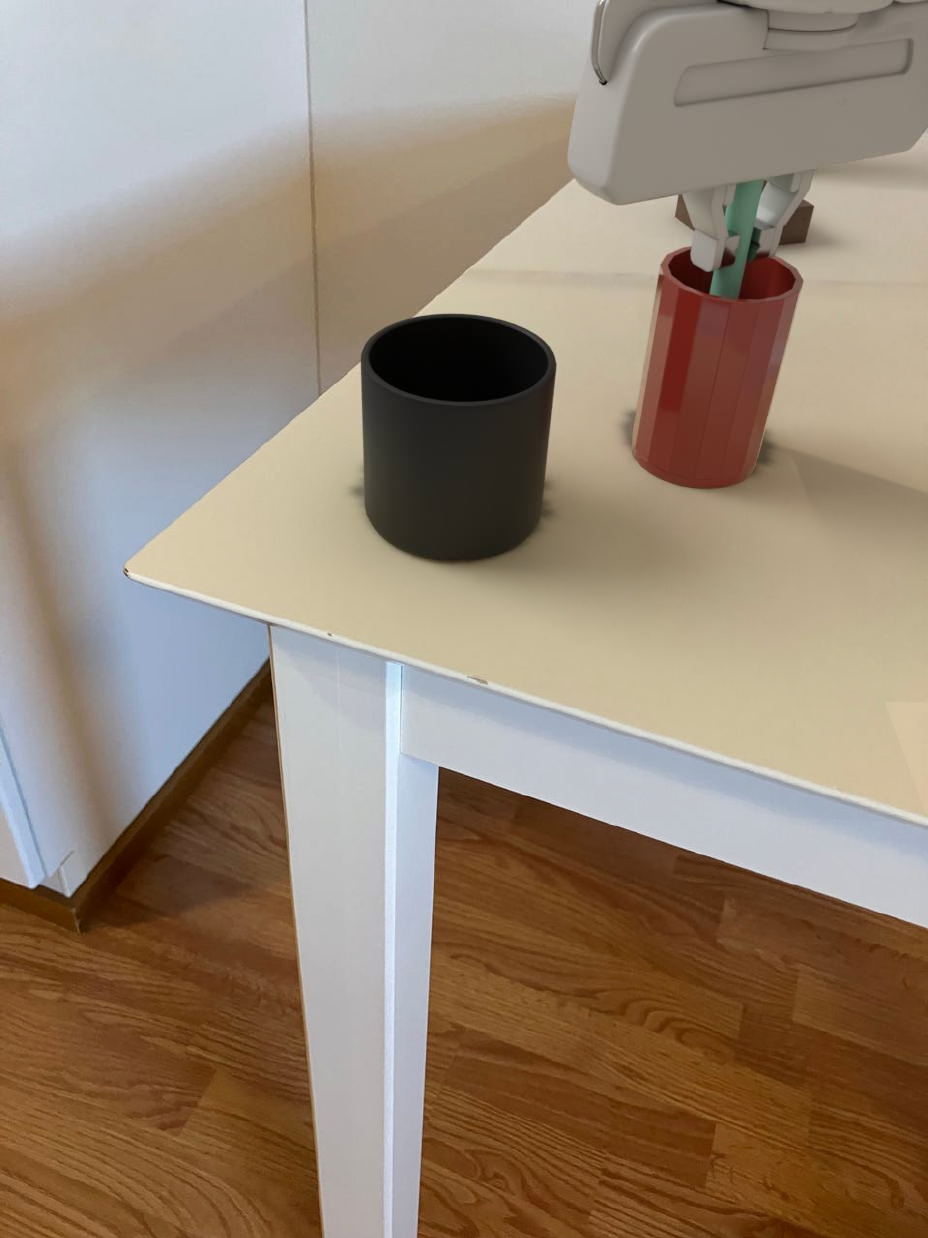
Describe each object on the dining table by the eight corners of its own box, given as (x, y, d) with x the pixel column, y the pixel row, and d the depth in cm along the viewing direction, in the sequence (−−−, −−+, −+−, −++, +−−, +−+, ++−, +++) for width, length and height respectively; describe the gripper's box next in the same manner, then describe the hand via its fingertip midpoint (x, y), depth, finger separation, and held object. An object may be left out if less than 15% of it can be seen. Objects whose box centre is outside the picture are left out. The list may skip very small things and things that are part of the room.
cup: (741, 423, 65) (784, 246, 58) (768, 490, 60) (818, 304, 53) (624, 419, 65) (652, 241, 58) (640, 486, 60) (673, 299, 52)
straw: (712, 393, 61) (778, 90, 50) (717, 407, 60) (785, 100, 49) (686, 392, 61) (746, 89, 50) (690, 406, 60) (753, 99, 49)
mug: (538, 441, 63) (552, 295, 57) (543, 569, 54) (560, 410, 48) (377, 434, 63) (374, 286, 57) (355, 559, 54) (349, 399, 48)
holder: (751, 220, 90) (761, 172, 88) (802, 256, 85) (814, 205, 83) (672, 229, 88) (680, 180, 86) (719, 266, 83) (729, 214, 80)
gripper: (652, -23, 39) (605, 325, 49) (1013, -54, 48) (915, 249, 57) (556, -55, 44) (529, 273, 53) (905, -77, 52) (829, 209, 61)
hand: (732, 260), depth 55 cm, fingers closed on straw, 1 cm apart
